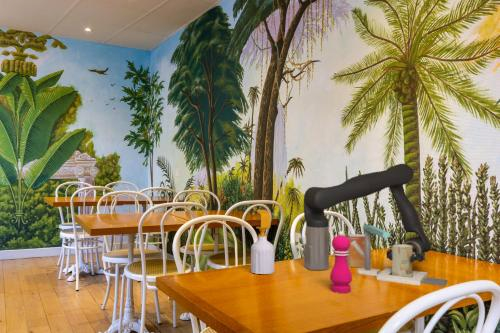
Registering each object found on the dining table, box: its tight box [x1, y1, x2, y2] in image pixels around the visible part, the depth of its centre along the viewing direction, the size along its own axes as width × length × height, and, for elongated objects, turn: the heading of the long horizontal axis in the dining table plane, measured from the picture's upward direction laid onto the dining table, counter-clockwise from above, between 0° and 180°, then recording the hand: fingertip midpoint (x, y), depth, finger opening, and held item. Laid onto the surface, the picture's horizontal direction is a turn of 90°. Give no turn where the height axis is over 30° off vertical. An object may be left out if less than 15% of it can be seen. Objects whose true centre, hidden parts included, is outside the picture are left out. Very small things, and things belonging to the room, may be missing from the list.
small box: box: [347, 233, 365, 268], centre depth 179 cm, size 8×6×13 cm
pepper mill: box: [329, 230, 353, 294], centre depth 143 cm, size 7×7×20 cm
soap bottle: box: [250, 209, 275, 275], centre depth 168 cm, size 9×9×25 cm
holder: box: [357, 230, 428, 286], centre depth 162 cm, size 24×15×17 cm, turn 58°
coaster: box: [422, 276, 448, 287], centre depth 154 cm, size 7×7×1 cm
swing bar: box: [362, 223, 390, 239], centre depth 158 cm, size 21×3×2 cm, turn 3°
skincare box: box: [391, 243, 413, 278], centre depth 160 cm, size 6×4×12 cm
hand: (400, 258), depth 158 cm, fingers closed on skincare box, 6 cm apart
